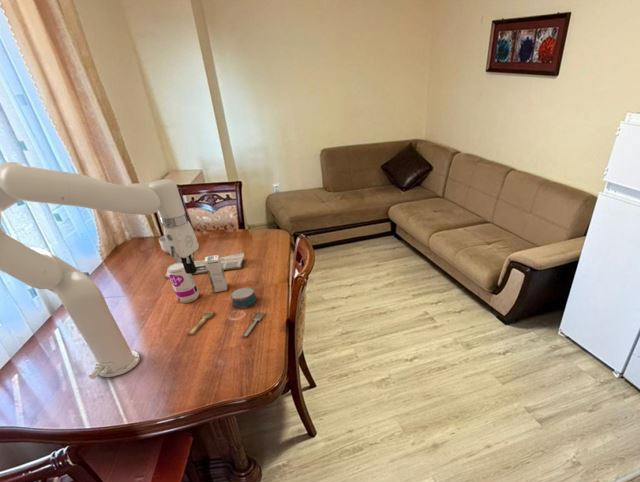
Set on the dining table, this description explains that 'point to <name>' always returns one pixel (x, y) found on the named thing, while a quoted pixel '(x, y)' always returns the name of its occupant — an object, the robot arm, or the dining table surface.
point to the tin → (243, 298)
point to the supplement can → (182, 283)
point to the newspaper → (226, 262)
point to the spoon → (202, 321)
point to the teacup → (163, 244)
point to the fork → (253, 324)
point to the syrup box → (216, 273)
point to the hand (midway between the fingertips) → (191, 272)
